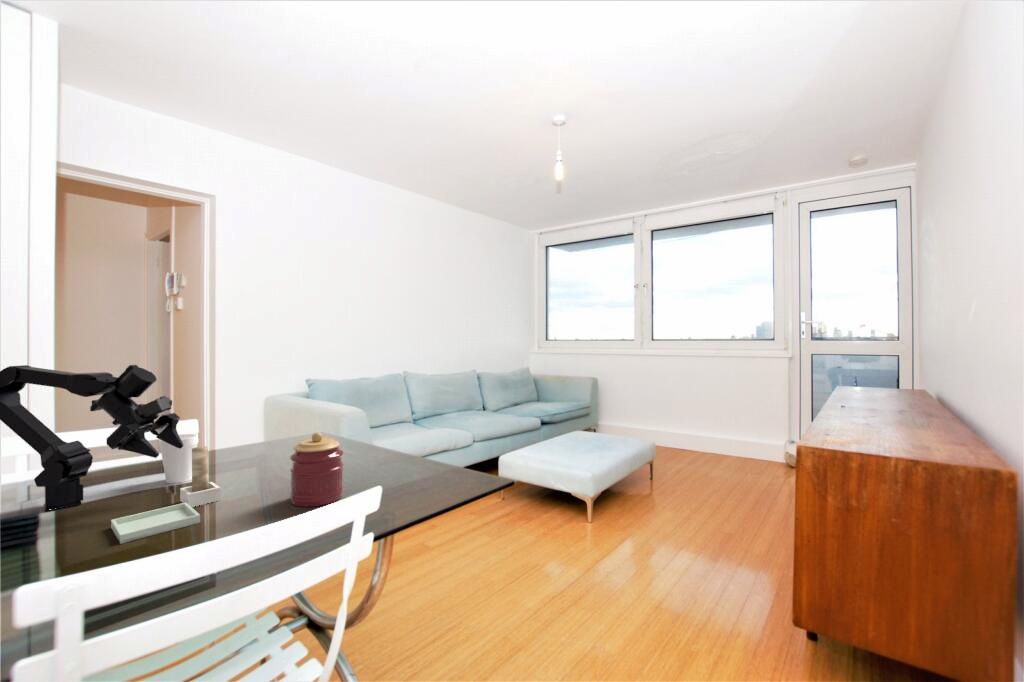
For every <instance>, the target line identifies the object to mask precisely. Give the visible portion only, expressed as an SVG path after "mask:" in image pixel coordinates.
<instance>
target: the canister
mask: <svg viewBox="0 0 1024 682" xmlns="http://www.w3.org/2000/svg"><path fill="white" fill-rule="evenodd" d="M340 445H341V444H340V442H339V441H337V440H335V439H334V438H332V437H323V434H322V433H321V432H317V431H316V432H314V433H313V434H312V435H311V438H309V439H304V440H301V441H300V442H299V443H298V444H296V445H295V446H294V447H293V450H294V453H292V454H291V455H290V460H291V461H292V464H291V465H292V466H291V468H290V470H289V471H290V487H291V488H290V493H289V494H290V495H289V497H290V500H291V503H292V504H293V505H294V506H297V507H302V508H303V507H305V508H306V507H308V508H309V507H319V506H324V505H330V504H331V503H334V502H337V501H338V500H340V499H341V498H342V497H343V493H344V491H345V490H344V483H343V481H344V468H343V467H344V462H342V456H343V454H344V451H343V449H342V448H340V447H339V446H340ZM341 496H342V497H341ZM340 497H341V498H340Z"/></svg>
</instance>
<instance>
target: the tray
mask: <svg viewBox="0 0 1024 682" xmlns="http://www.w3.org/2000/svg"><path fill="white" fill-rule="evenodd" d="M200 523H201V514H200V513H199V512H197V511H196V510H195V509H194V507H191V506H190V505H189V504H187V503H186V502H185V503H181V502H180V503H178V504H173V505H168V506H165V507H160V508H156V509H152V510H148V511H144V512H139V513H136V514H131V515H125V516H122V517H117V518H114V519H110V527H111V530H112V532H113V533H114V536H115V537H116V539H117V540H118V542H119V544H121V545H122V544H125V543H129V542H133V541H137V540H140V539H143V538H148V537H151V536H156V535H159V534H163V533H166V532H170V531H174V530H178V529H181V528H185V527H189V526H193V525H197V524H200Z"/></svg>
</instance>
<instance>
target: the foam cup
mask: <svg viewBox="0 0 1024 682" xmlns="http://www.w3.org/2000/svg"><path fill="white" fill-rule="evenodd" d="M178 435H179V437H180V439H181V441H182V443H183V447H182V448H180V449H179V448H177V447H175V446H172V445H170V444H168V443H166V442H164V441H162V440H160V439H158V442H159V449H160V452H161V453H160V454H161V460H162V465H163V470H164V476H165V481H166V483H167V484H180V482H181V483H185V481H186V482H188V480H189V481H192V448H195V447H198V444H199V434H197V433H178Z"/></svg>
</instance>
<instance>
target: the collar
mask: <svg viewBox="0 0 1024 682" xmlns="http://www.w3.org/2000/svg"><path fill="white" fill-rule="evenodd" d="M179 492H180V497H179V498H180V501H181V502H182V503H185V502H186V503H187V504H189V505H190V506H191V507H192V508H195V506H196V507H199V505H200V506H205V505H208V504H207V503H209V504H212V503H211V502H213V503H216V501H217V502H220V501H221V487H220V486H219V485H217V484H216V483H214V482H213V481H210V482H209V481H208V489H207V490H202V491H198V492H193V493H192V485H190V486H185V487H180V488H179ZM181 502H180V503H181Z"/></svg>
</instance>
